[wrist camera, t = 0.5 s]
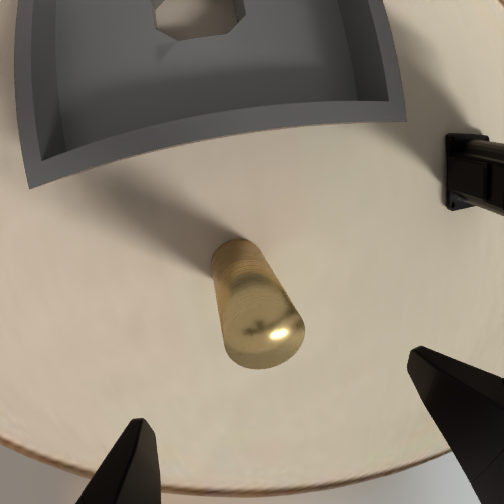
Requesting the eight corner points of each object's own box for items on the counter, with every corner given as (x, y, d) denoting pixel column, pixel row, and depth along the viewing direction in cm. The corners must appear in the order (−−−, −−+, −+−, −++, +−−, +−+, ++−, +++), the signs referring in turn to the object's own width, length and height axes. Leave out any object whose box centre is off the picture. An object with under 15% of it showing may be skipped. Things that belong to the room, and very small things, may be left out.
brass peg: (259, 234, 19) (302, 294, 12) (266, 281, 20) (306, 357, 13) (206, 245, 18) (216, 314, 11) (217, 292, 20) (232, 376, 12)
